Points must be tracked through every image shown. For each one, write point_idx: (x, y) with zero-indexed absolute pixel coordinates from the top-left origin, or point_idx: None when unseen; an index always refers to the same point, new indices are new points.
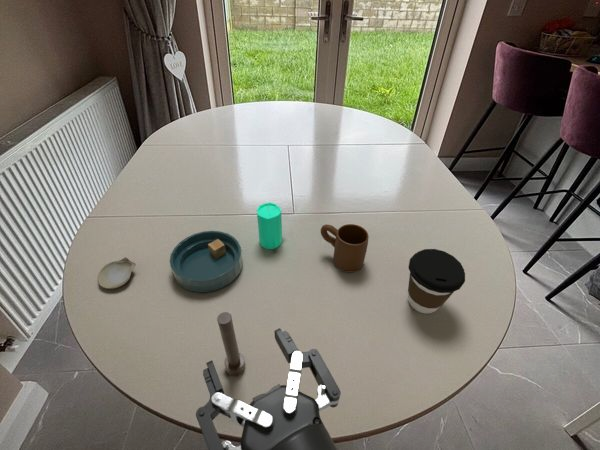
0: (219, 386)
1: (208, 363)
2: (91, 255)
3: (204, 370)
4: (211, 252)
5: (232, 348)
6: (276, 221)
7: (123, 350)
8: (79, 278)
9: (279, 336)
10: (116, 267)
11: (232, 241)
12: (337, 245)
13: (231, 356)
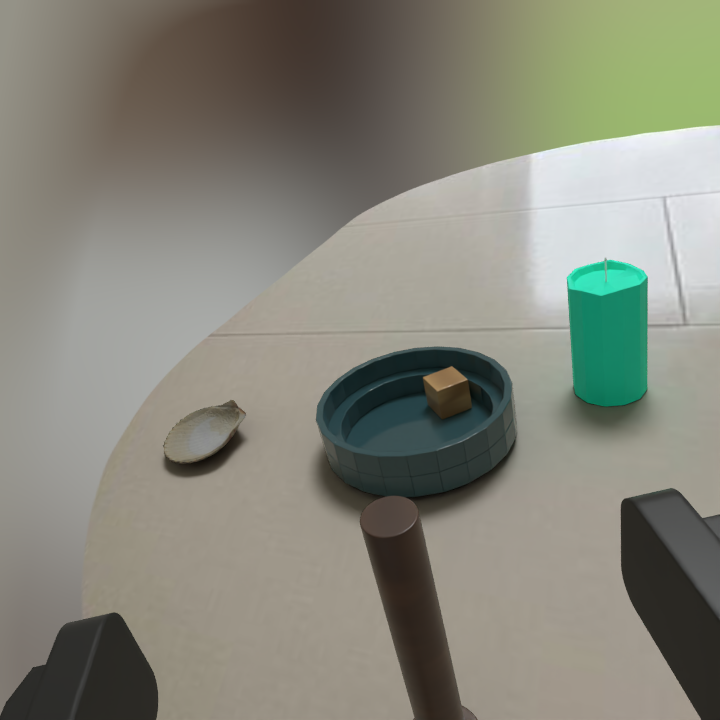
0: None
1: (72, 625)
2: (177, 399)
3: (34, 673)
4: (431, 401)
5: (427, 672)
6: (630, 307)
7: (151, 616)
8: (138, 439)
9: (669, 538)
10: (210, 421)
11: (490, 373)
12: None
13: (425, 709)
